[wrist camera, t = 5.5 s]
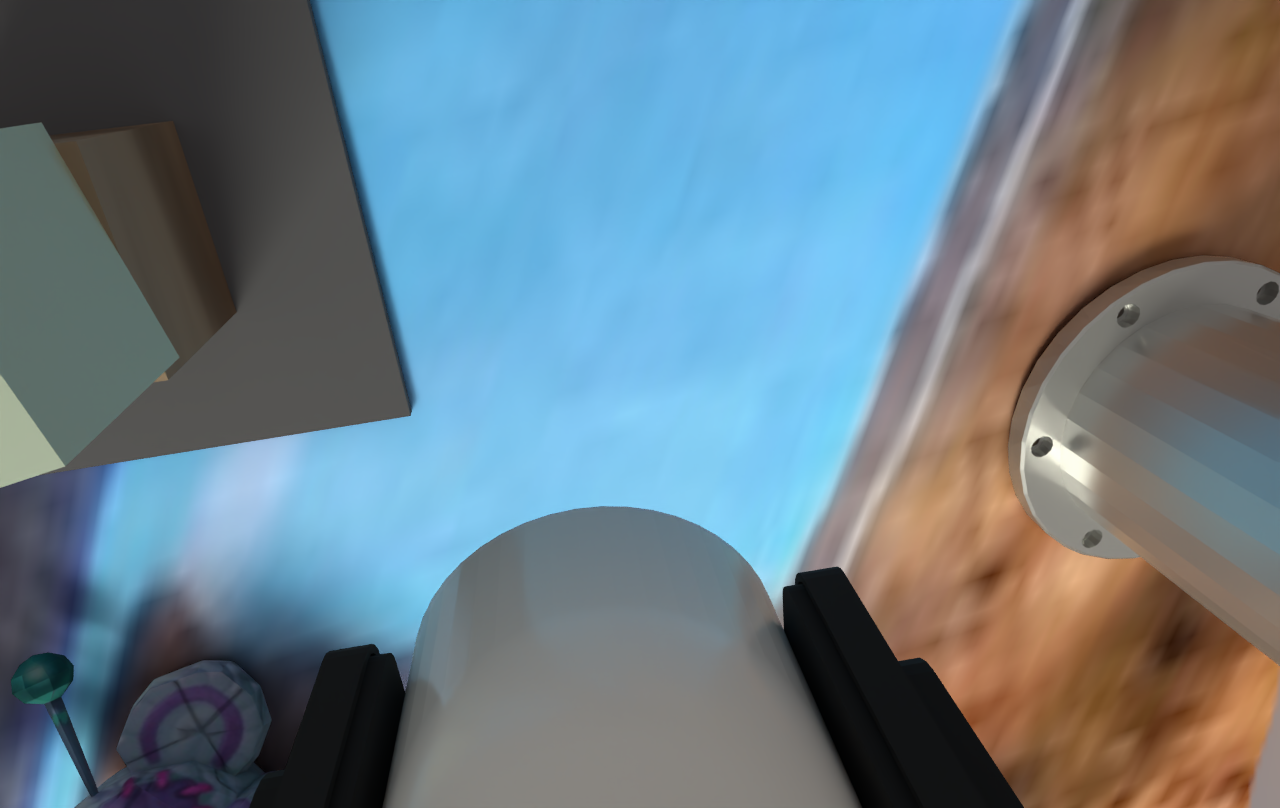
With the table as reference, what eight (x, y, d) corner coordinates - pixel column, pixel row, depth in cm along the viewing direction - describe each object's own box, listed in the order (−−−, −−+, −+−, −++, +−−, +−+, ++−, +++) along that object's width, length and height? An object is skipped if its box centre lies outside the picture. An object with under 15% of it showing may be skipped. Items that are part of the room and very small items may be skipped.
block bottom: (172, 120, 22) (76, 141, 17) (236, 312, 24) (168, 380, 19) (-43, 146, 21) (-210, 175, 16) (43, 339, 23) (-80, 417, 18)
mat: (291, -72, 21) (288, -75, 20) (411, 410, 27) (410, 415, 26) (-303, -16, 19) (-318, -17, 19) (-37, 482, 25) (-44, 488, 25)
